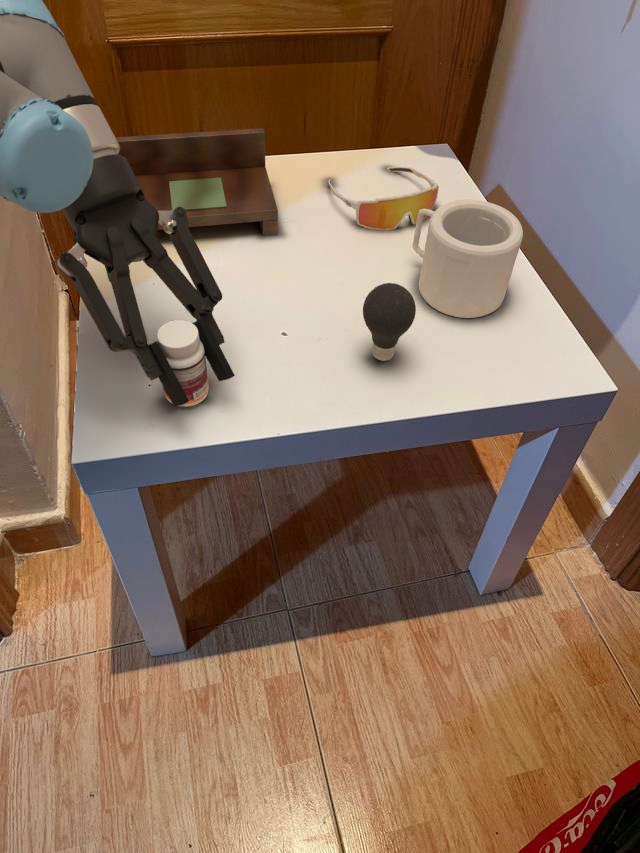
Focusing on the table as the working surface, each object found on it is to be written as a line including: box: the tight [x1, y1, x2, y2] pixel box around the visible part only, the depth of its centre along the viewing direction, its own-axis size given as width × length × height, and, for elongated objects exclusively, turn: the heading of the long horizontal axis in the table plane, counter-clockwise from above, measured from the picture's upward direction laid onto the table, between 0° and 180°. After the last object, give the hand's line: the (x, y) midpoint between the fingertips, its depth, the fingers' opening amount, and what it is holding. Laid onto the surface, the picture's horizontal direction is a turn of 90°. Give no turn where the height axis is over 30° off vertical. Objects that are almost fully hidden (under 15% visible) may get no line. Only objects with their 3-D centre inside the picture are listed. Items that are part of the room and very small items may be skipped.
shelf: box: [115, 127, 279, 237], centre depth 91 cm, size 20×12×9 cm, turn 101°
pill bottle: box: [156, 319, 210, 407], centre depth 70 cm, size 5×5×8 cm
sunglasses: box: [327, 166, 440, 231], centre depth 98 cm, size 14×15×5 cm
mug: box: [412, 199, 524, 319], centre depth 83 cm, size 14×11×10 cm
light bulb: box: [362, 282, 417, 362], centre depth 75 cm, size 6×6×10 cm
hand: (204, 390), depth 69 cm, fingers closed on pill bottle, 5 cm apart
